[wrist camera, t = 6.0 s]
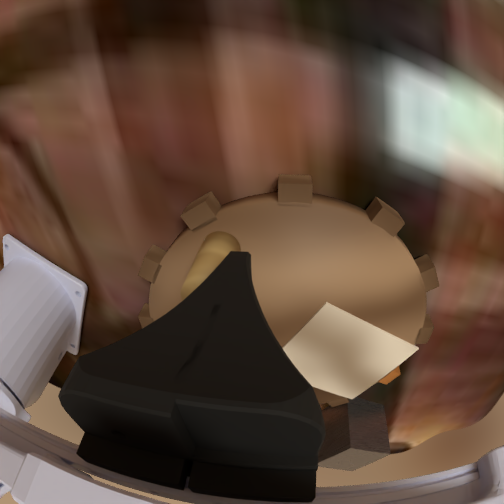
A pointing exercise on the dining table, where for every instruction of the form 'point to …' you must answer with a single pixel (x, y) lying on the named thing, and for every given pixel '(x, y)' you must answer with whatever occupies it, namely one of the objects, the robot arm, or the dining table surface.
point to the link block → (354, 435)
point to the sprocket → (309, 280)
